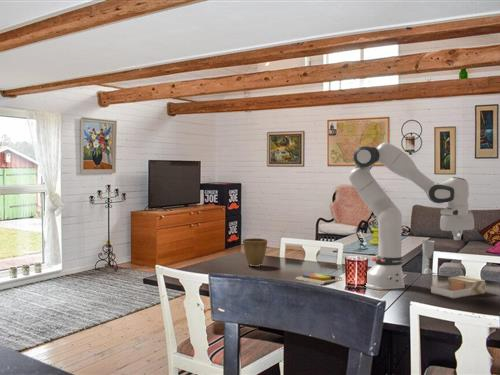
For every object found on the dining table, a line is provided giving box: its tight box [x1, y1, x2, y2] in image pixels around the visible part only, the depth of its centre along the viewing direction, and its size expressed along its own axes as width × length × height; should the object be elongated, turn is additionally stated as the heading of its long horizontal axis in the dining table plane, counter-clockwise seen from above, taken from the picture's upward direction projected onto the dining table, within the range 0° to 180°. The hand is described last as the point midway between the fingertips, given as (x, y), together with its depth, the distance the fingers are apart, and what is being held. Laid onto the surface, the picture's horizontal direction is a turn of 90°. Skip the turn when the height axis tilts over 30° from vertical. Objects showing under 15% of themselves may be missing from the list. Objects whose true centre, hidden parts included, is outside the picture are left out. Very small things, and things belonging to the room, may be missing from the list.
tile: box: [451, 280, 464, 291], centre depth 218 cm, size 5×5×2 cm
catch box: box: [430, 283, 472, 300], centre depth 216 cm, size 12×12×3 cm
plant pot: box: [242, 237, 268, 265], centre depth 285 cm, size 15×15×16 cm
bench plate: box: [447, 275, 486, 296], centre depth 222 cm, size 10×12×6 cm
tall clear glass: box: [421, 239, 436, 275], centre depth 267 cm, size 7×7×18 cm
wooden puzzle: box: [295, 272, 343, 286], centre depth 246 cm, size 18×19×4 cm
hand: (457, 239), depth 226 cm, fingers closed
